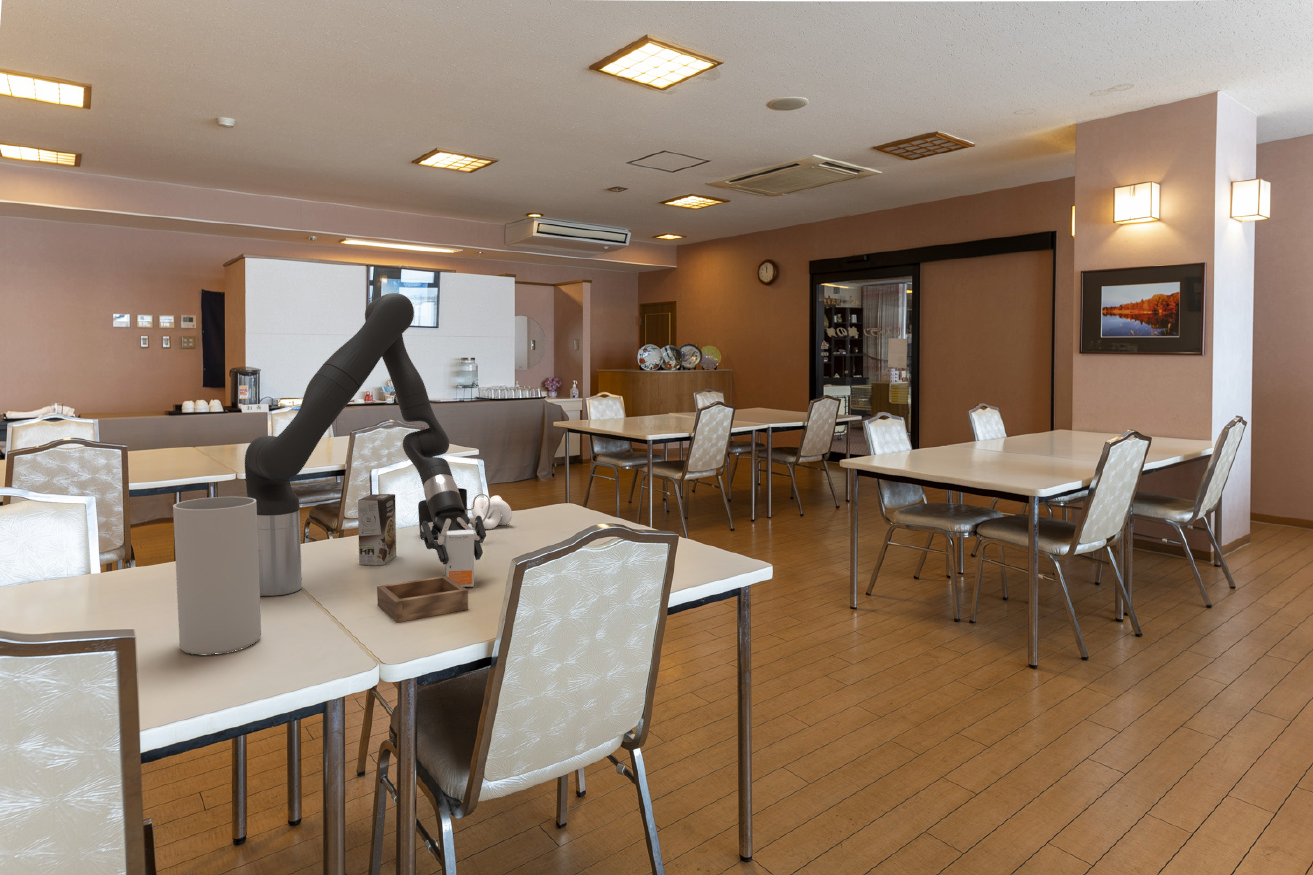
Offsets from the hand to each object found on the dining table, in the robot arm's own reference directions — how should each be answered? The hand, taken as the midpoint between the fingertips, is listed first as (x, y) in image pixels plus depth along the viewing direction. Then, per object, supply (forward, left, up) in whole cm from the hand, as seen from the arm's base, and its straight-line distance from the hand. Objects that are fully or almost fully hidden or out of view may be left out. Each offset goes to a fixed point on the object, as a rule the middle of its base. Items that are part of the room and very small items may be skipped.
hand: (462, 559), depth 173 cm
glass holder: (+15, +38, -7) cm, 42 cm away
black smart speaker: (+12, +51, -7) cm, 53 cm away
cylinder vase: (-48, -10, -6) cm, 49 cm away
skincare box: (0, +2, -6) cm, 6 cm away
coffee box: (-9, +33, -7) cm, 35 cm away
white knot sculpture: (+31, +55, -7) cm, 64 cm away
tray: (-12, -9, -6) cm, 16 cm away
